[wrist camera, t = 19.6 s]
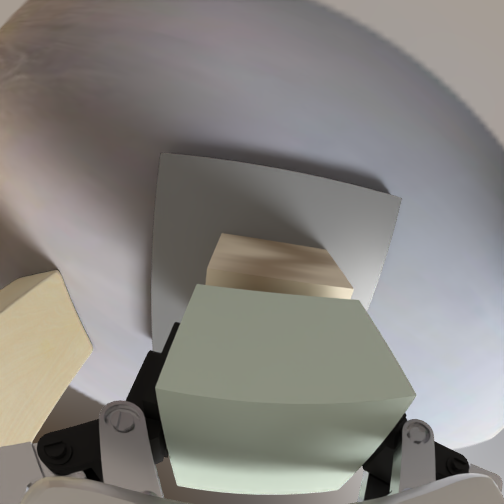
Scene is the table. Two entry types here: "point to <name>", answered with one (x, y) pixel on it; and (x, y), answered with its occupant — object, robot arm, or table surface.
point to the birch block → (275, 268)
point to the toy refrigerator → (36, 352)
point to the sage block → (276, 392)
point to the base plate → (258, 225)
